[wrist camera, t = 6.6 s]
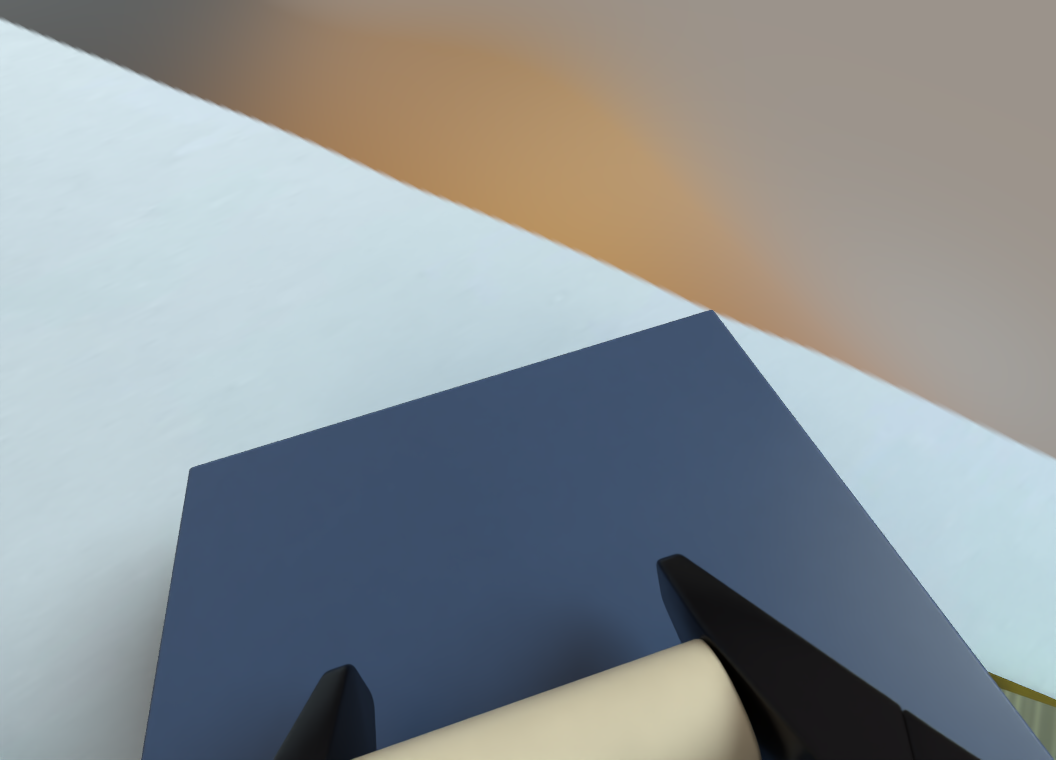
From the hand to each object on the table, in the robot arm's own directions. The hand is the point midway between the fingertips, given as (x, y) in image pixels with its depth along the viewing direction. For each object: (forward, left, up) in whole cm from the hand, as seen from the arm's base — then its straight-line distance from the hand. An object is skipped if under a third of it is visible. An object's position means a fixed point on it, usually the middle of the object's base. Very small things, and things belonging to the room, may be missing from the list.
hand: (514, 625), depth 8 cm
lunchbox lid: (0, 0, -3) cm, 3 cm away
